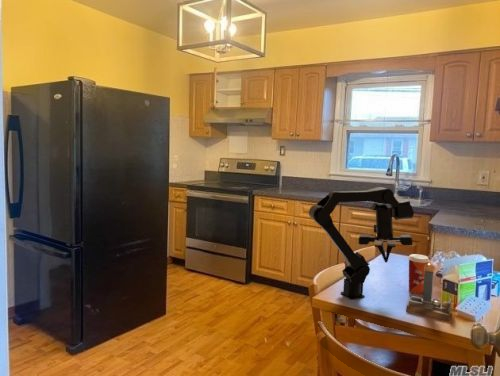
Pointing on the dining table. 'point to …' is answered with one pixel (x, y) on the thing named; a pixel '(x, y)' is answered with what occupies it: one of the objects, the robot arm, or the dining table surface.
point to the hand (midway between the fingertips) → (386, 262)
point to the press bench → (429, 308)
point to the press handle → (429, 286)
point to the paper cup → (417, 272)
